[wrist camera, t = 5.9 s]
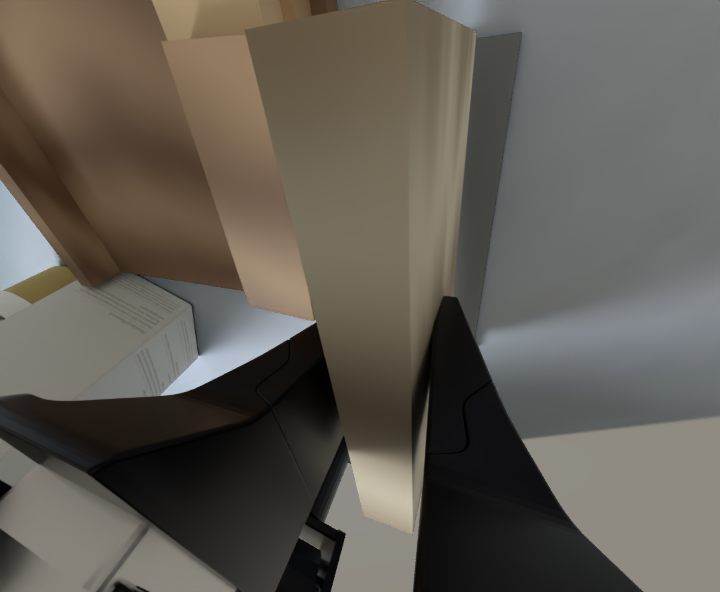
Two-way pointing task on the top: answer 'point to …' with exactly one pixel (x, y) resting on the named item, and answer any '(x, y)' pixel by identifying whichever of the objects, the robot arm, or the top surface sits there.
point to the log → (33, 290)
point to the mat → (483, 163)
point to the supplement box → (94, 348)
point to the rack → (106, 142)
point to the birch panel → (373, 212)
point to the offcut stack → (238, 139)
